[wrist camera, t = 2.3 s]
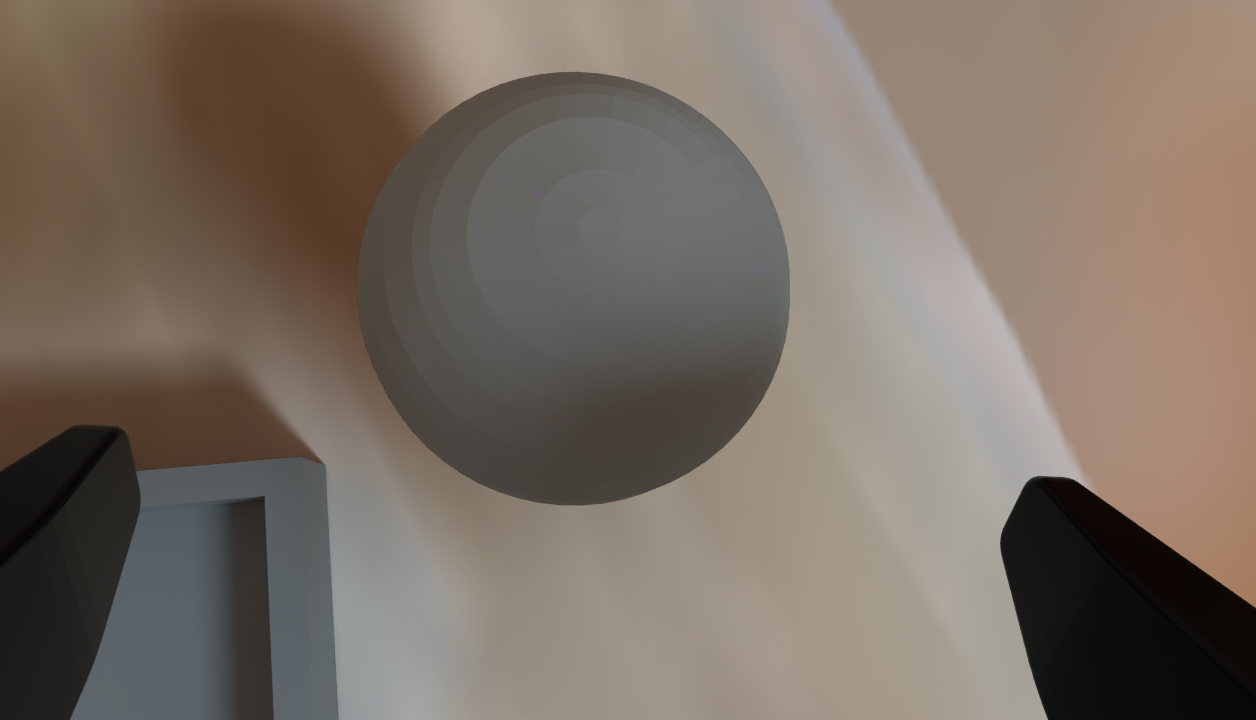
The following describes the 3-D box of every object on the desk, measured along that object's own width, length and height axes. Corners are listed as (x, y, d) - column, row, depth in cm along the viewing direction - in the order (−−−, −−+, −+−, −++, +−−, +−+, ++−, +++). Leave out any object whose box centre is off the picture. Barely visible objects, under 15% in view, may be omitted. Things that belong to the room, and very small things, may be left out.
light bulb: (395, 260, 19) (299, -7, 10) (657, 235, 20) (812, -32, 11) (423, 529, 19) (349, 536, 9) (694, 492, 19) (899, 461, 10)
